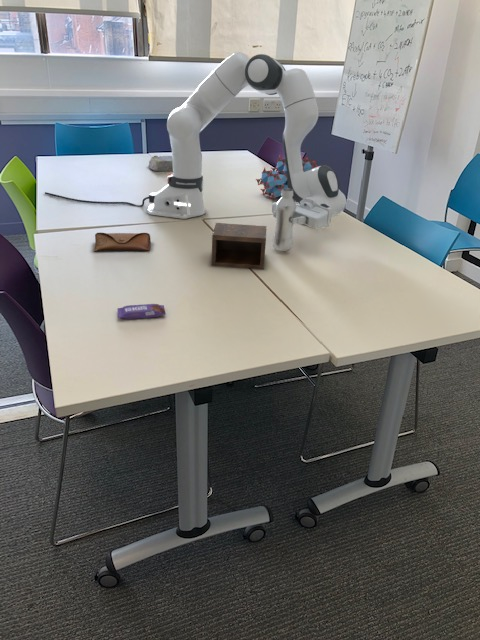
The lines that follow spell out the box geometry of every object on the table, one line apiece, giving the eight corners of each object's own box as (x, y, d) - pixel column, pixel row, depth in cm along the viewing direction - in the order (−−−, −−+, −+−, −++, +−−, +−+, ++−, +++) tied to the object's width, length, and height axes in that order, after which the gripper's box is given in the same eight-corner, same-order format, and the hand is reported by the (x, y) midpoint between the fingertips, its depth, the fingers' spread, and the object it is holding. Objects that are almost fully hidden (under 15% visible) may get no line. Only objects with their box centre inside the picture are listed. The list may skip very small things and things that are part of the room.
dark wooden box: (211, 265, 153) (212, 234, 148) (215, 252, 162) (215, 222, 157) (263, 269, 152) (266, 238, 147) (264, 255, 162) (266, 226, 157)
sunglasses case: (93, 251, 157) (92, 230, 157) (95, 254, 164) (94, 234, 164) (151, 250, 160) (150, 229, 160) (151, 253, 166) (150, 233, 167)
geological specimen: (182, 160, 253) (153, 160, 247) (181, 172, 256) (152, 172, 250) (175, 155, 261) (147, 154, 255) (175, 166, 264) (147, 166, 258)
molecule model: (265, 183, 207) (313, 148, 208) (250, 175, 218) (295, 142, 219) (280, 214, 217) (325, 180, 219) (265, 204, 228) (308, 173, 230)
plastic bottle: (270, 245, 168) (275, 186, 159) (290, 246, 169) (296, 187, 159) (273, 253, 163) (278, 192, 153) (293, 253, 163) (299, 192, 154)
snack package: (117, 314, 120) (117, 304, 124) (118, 321, 121) (117, 311, 125) (165, 311, 123) (163, 301, 127) (165, 317, 124) (163, 308, 128)
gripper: (288, 193, 173) (260, 200, 165) (336, 209, 161) (308, 217, 152) (287, 211, 176) (259, 218, 168) (333, 227, 164) (306, 236, 155)
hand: (283, 218), depth 160 cm, fingers closed on plastic bottle, 6 cm apart
